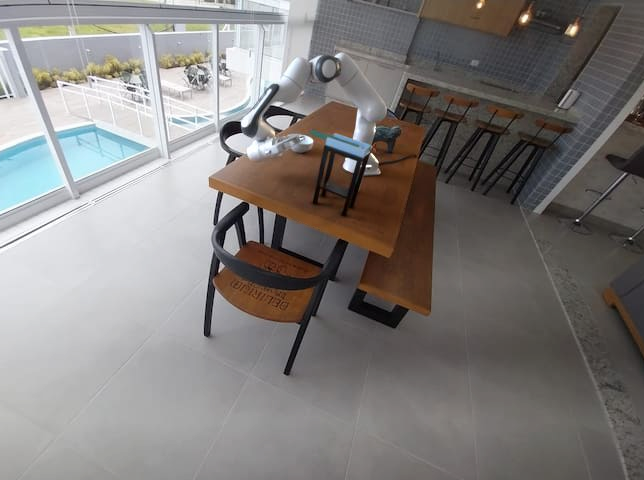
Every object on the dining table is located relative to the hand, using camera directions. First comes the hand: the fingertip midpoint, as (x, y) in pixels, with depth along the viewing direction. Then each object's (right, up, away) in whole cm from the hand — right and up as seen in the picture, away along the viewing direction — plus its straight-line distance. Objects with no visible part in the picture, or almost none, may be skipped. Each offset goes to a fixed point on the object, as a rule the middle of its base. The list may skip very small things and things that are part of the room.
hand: (299, 140), depth 135 cm
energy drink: (+28, -17, +23) cm, 40 cm away
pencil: (+16, -4, -8) cm, 18 cm away
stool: (+16, -27, +9) cm, 33 cm away
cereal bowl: (0, +17, +53) cm, 56 cm away
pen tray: (+20, -7, -9) cm, 23 cm away
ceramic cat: (+56, +24, +73) cm, 95 cm away
